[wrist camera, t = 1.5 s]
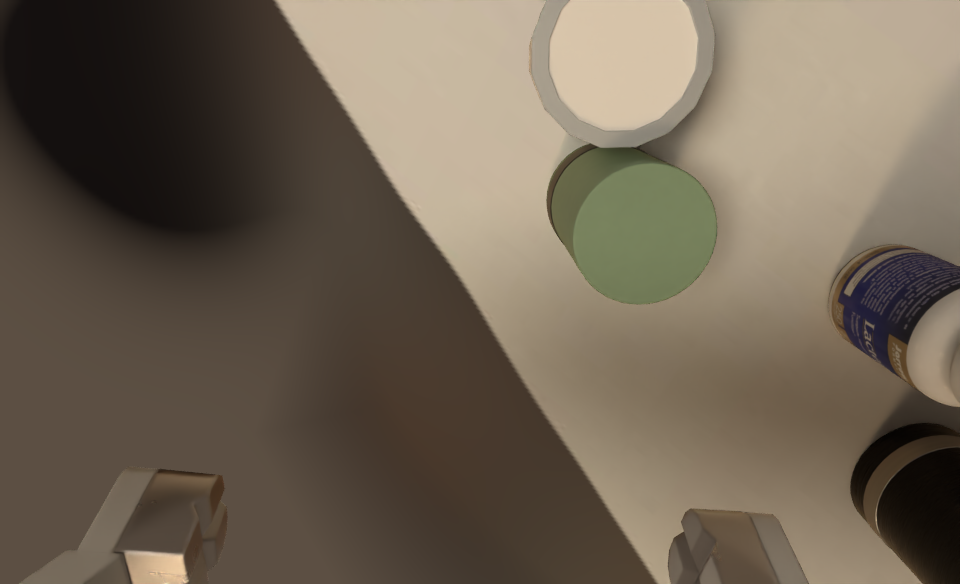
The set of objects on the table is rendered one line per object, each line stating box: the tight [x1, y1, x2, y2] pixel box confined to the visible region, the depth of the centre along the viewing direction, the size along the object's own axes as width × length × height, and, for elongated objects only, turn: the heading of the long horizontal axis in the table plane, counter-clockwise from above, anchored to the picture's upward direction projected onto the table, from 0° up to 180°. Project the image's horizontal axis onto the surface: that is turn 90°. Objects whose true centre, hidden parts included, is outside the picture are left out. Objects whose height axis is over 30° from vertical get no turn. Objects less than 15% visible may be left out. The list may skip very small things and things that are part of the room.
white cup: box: [529, 0, 715, 148], centre depth 28 cm, size 7×7×7 cm
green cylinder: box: [547, 143, 717, 304], centre depth 30 cm, size 6×6×8 cm
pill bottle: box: [829, 245, 960, 407], centre depth 31 cm, size 6×6×10 cm
